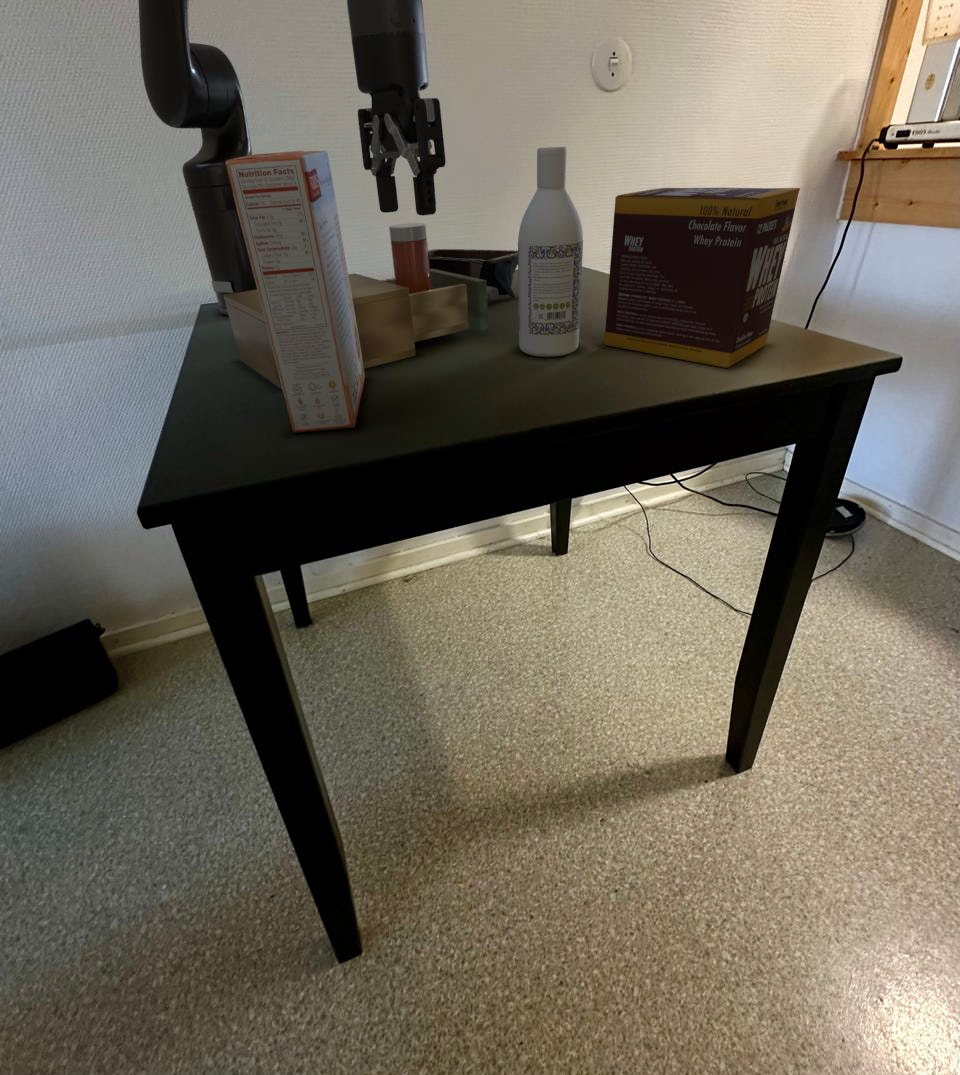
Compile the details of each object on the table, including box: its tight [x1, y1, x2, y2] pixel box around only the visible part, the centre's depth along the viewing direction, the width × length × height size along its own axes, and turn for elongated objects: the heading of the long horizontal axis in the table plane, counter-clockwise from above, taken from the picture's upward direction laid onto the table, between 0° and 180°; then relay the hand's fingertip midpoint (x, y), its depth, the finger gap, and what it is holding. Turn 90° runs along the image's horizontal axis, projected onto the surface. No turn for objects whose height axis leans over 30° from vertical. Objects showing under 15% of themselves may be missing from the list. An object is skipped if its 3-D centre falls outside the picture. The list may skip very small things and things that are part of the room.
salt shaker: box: [388, 222, 432, 294], centre depth 74 cm, size 4×4×11 cm
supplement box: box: [603, 187, 801, 369], centre depth 65 cm, size 10×15×16 cm
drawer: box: [380, 269, 499, 343], centre depth 76 cm, size 20×12×6 cm, turn 126°
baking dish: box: [428, 248, 518, 299], centre depth 91 cm, size 14×18×10 cm
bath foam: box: [517, 146, 584, 358], centre depth 65 cm, size 7×7×20 cm
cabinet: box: [224, 273, 417, 390], centre depth 70 cm, size 17×14×8 cm
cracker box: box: [225, 150, 366, 433], centre depth 53 cm, size 14×6×21 cm, turn 5°
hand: (407, 213), depth 70 cm, fingers open, 8 cm apart
